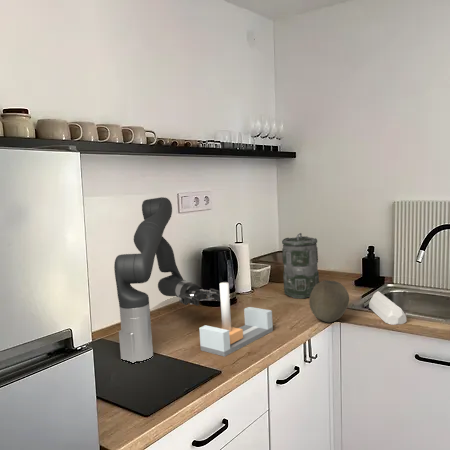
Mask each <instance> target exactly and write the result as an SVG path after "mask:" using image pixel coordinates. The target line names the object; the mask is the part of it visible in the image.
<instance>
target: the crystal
mask: <svg viewBox="0 0 450 450" xmlns="http://www.w3.org/2000/svg"><path fill="white" fill-rule="evenodd" d="M368 308H369V309H370V310H371V311H373V313H375V315H377V316H378V317H379V318H380V319H381V320H382V321H383V322H384V323H385V324H389V325H392V326H393V325H394V326H395V325H396V326H397V325H403V324H405V323H406V322H407V321H408V320H407V315H406V314H405V312H404V310H403V309H402V308H401V307H400V306H398V305H397V304H396V303H395V302H393V301H392V300H391V299H389V297H387V296H385V294H383V293H382V292H380V291H376V292H374V293H373V295H372V297H371V299H370V301H369V302H368Z"/></svg>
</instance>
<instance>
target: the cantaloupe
mask: <svg viewBox="0 0 450 450" xmlns="http://www.w3.org/2000/svg"><path fill="white" fill-rule="evenodd" d="M349 302H350V294H349V292H348V290H347V289H346V287H345V286H344V284H341V283H340V282H339V281H335V280H322V281H319V283H318V284H316V285H315V287H314V288H313V290H312V292H311V294H310V297H309V308H310V310H311V313H312V314H313V316H314V317H315V318H316V319H318V320H319V321H323V322H324V323H326V324H327V323H333V322H336V321H337V320H339V319H340V318H341V317H342V316H344V314H345V312H346V311H347V309H348V306H349Z"/></svg>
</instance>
